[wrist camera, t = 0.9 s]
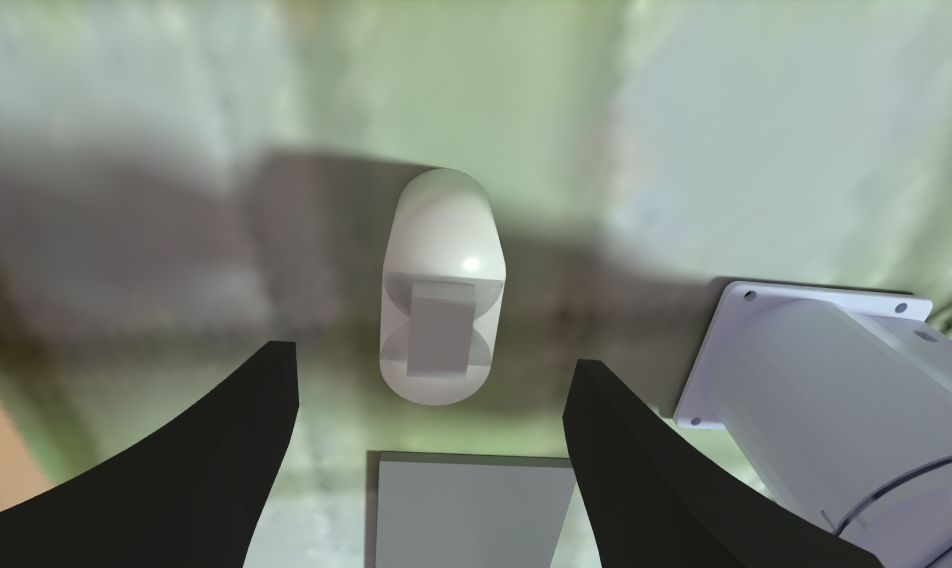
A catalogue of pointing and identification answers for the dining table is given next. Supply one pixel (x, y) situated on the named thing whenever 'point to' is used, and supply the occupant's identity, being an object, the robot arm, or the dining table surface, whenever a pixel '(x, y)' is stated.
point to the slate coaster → (470, 510)
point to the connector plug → (440, 290)
